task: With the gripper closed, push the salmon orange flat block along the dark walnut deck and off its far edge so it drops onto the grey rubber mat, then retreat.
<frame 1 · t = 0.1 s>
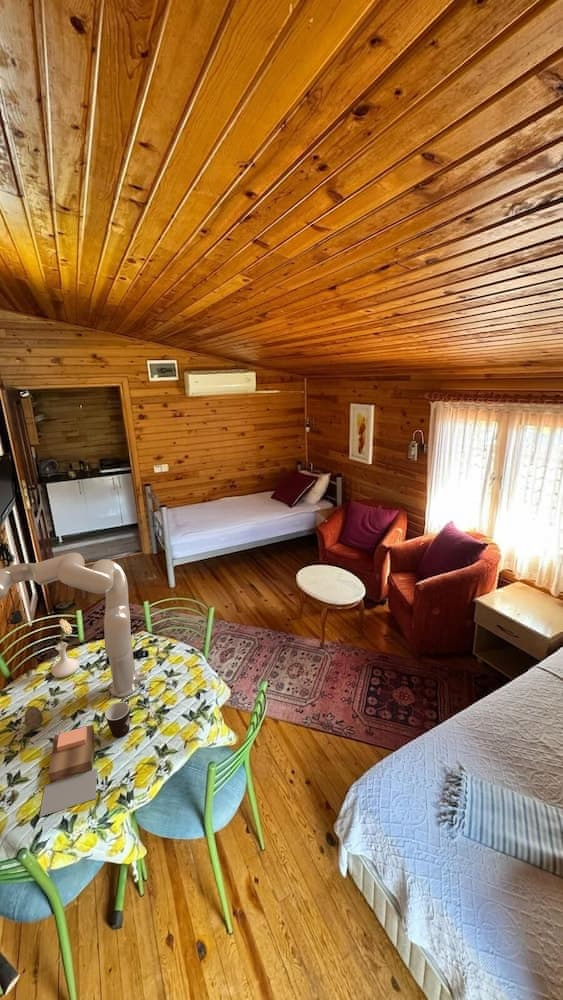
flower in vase: (67, 670, 188), on the table
deck: (73, 756, 146), on the table
decorative egg: (35, 727, 158), on the table
mat: (70, 792, 133), on the table
coffee mug: (124, 728, 157), on the table
salmon orange flat block: (72, 740, 147), point 4 cm above the table, touching deck
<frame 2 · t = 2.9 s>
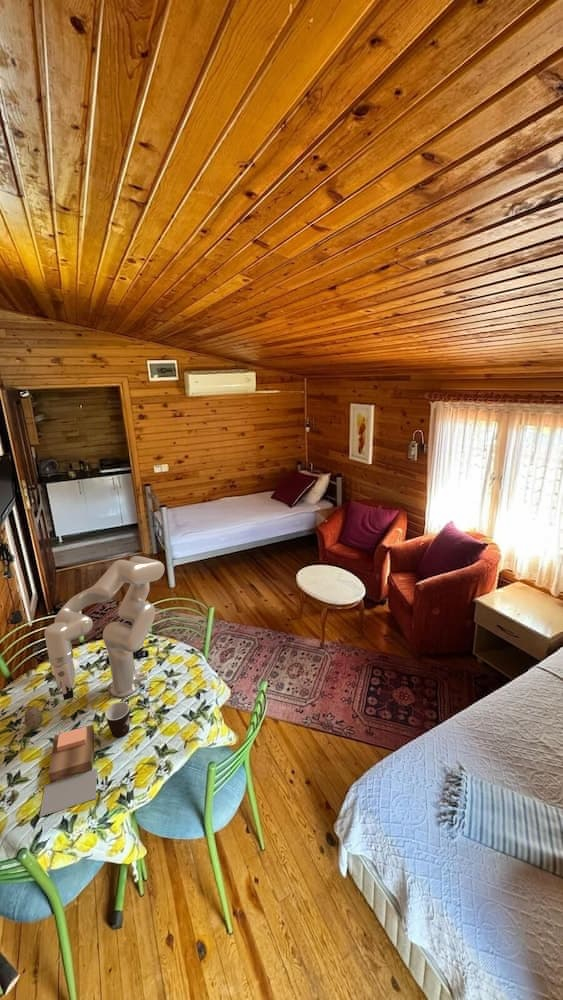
hand: (68, 697, 151), 16 cm above the table, fingers closed
nothing on the table moved.
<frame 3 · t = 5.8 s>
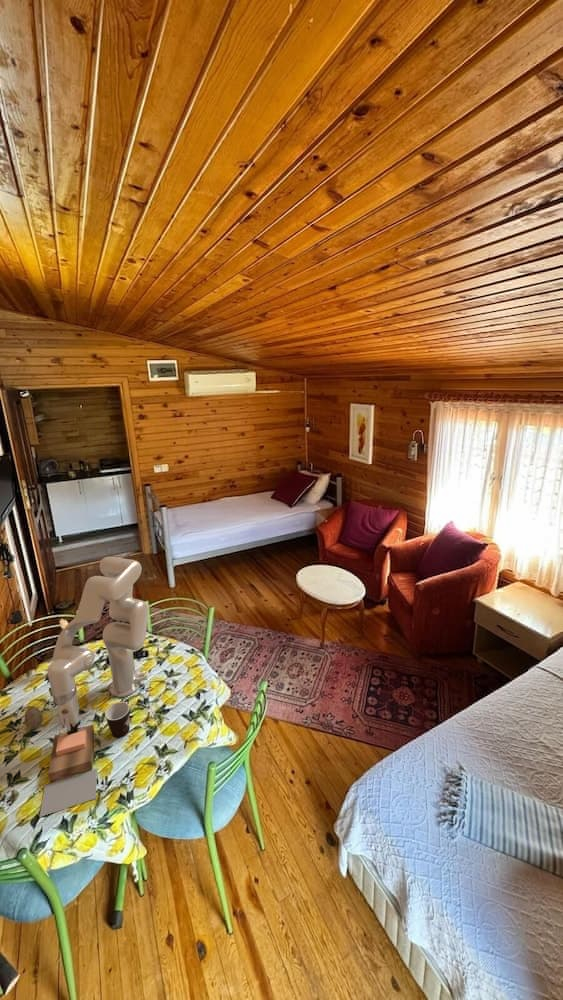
hand: (73, 732, 150), 5 cm above the table, fingers closed
salmon orange flat block: (72, 744, 146), point 4 cm above the table, touching deck, gripper
everything else where it was.
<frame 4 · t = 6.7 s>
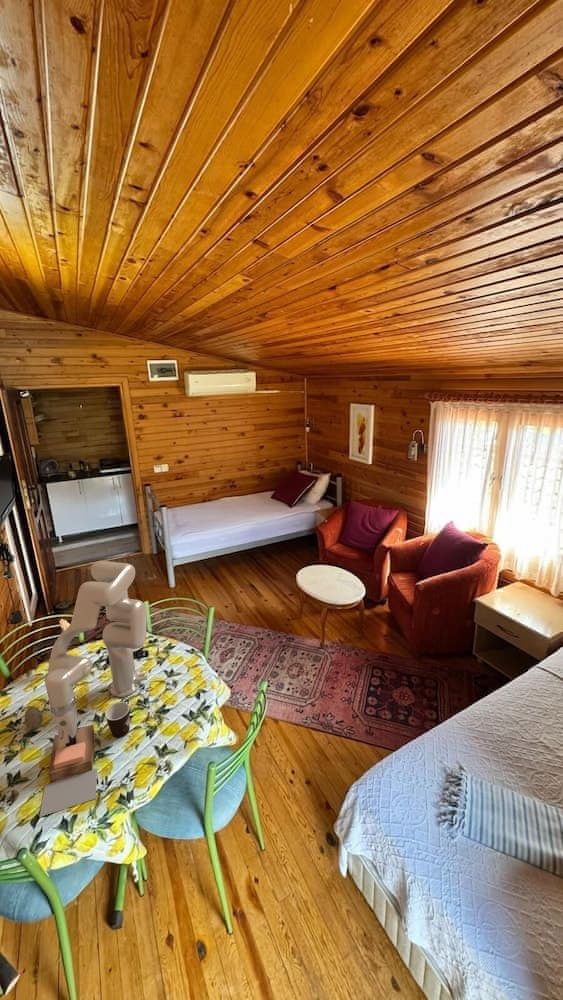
hand: (71, 744, 145), 5 cm above the table, fingers closed
salmon orange flat block: (70, 757, 141), point 4 cm above the table, touching deck, gripper
everything else where it was.
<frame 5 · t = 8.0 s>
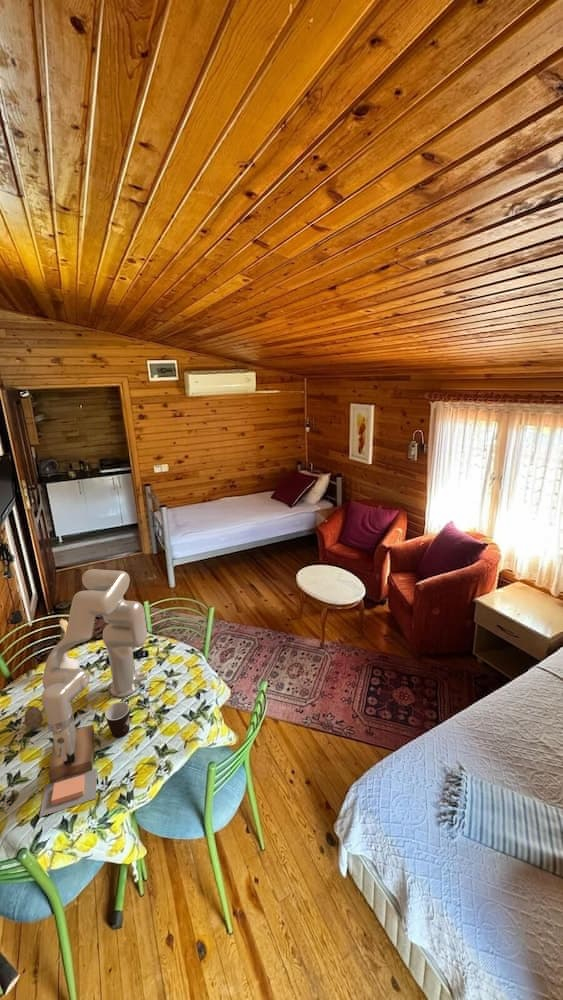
hand: (69, 761, 139), 5 cm above the table, fingers closed
salmon orange flat block: (68, 787, 133), point 2 cm above the table, tilted 180°, touching mat
everything else where it was.
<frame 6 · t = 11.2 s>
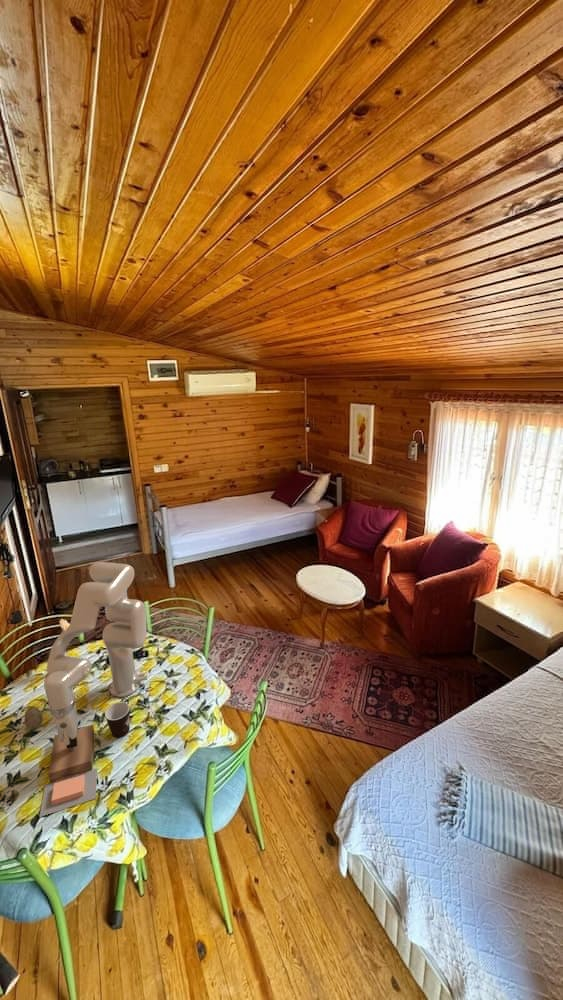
hand: (72, 745, 144), 5 cm above the table, fingers closed
nothing on the table moved.
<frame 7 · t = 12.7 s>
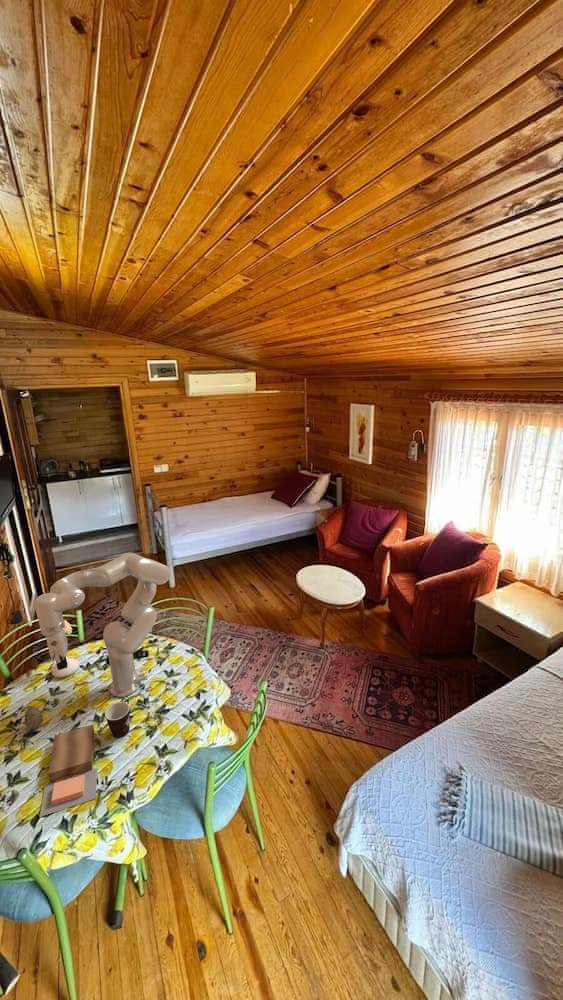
hand: (62, 667, 152), 26 cm above the table, fingers closed
nothing on the table moved.
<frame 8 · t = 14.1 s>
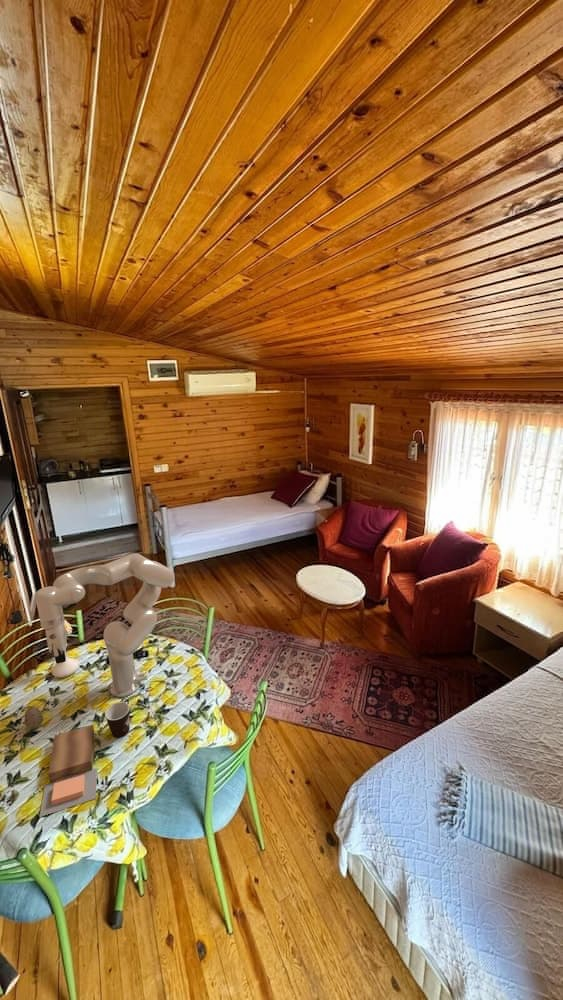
hand: (61, 661, 154), 27 cm above the table, fingers closed
nothing on the table moved.
at the end: salmon orange flat block point 2.3 cm above the table; salmon orange flat block inside the target area on the mat (0.2 cm from its centre), point 2.3 cm above the mat's base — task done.
